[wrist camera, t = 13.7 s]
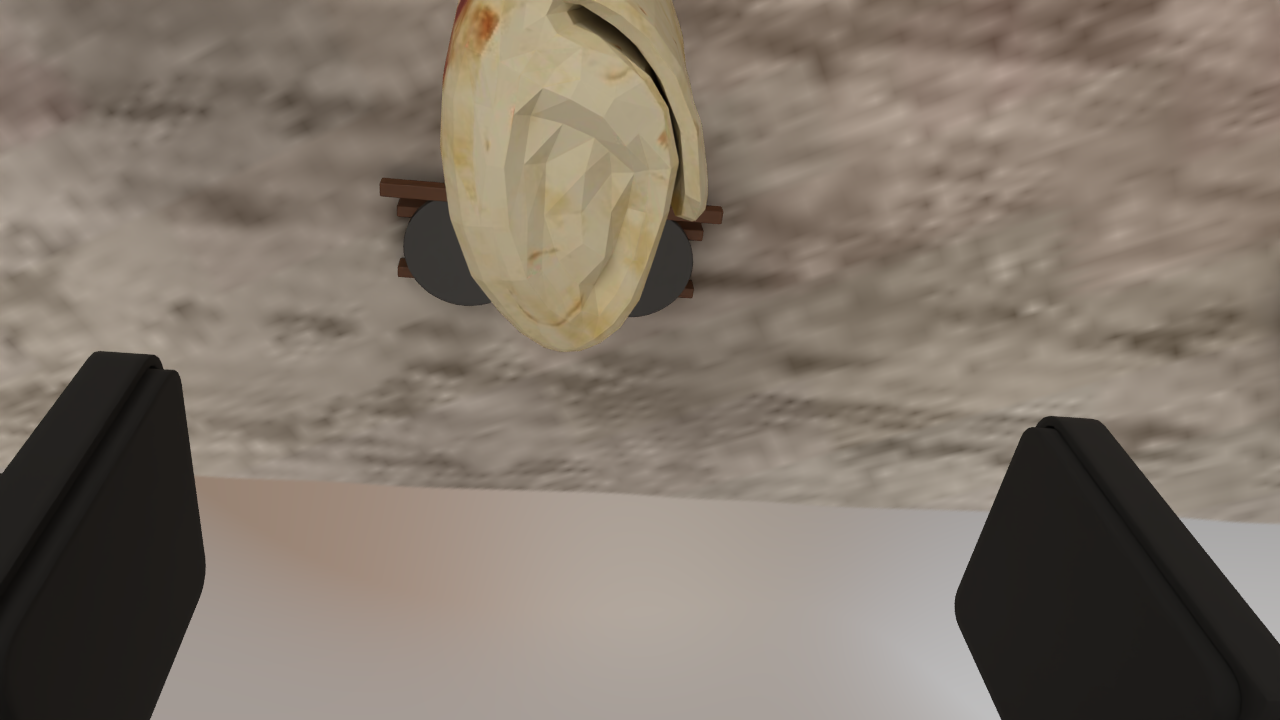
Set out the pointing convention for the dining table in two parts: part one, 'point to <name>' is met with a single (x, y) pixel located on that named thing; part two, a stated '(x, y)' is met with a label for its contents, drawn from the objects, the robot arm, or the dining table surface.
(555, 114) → the food model
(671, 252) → the sunglasses
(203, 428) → the dining table surface
